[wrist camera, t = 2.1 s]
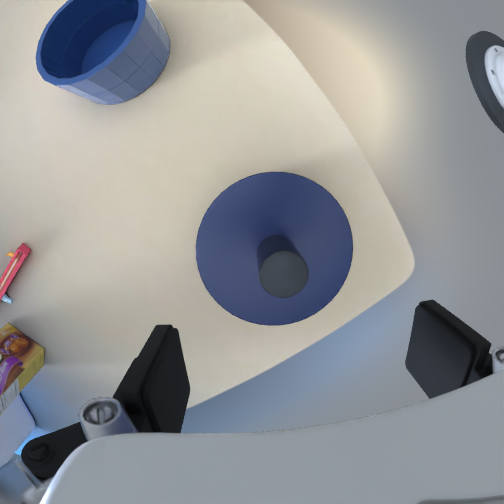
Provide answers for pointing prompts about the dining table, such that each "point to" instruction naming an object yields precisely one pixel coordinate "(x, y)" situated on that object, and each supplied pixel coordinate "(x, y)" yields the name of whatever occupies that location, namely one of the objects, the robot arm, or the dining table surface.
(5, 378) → the candy box
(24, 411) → the plastic bottle
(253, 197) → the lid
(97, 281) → the dining table surface
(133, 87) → the pot
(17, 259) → the red slotted bar
